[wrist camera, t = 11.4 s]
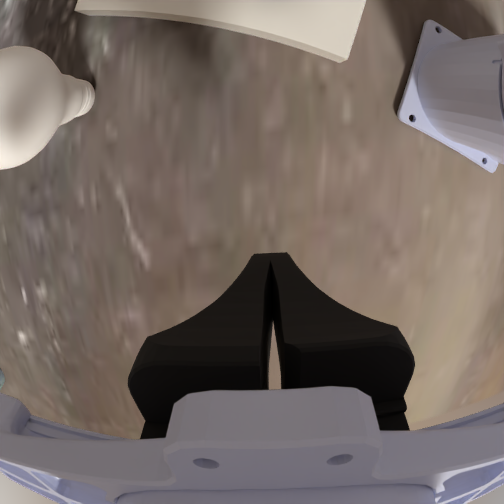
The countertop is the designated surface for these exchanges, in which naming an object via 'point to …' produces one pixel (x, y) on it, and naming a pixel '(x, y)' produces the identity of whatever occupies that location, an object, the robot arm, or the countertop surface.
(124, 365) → the countertop surface
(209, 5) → the breaker panel
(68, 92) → the lightbulb
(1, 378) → the drinking glass
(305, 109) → the countertop surface
